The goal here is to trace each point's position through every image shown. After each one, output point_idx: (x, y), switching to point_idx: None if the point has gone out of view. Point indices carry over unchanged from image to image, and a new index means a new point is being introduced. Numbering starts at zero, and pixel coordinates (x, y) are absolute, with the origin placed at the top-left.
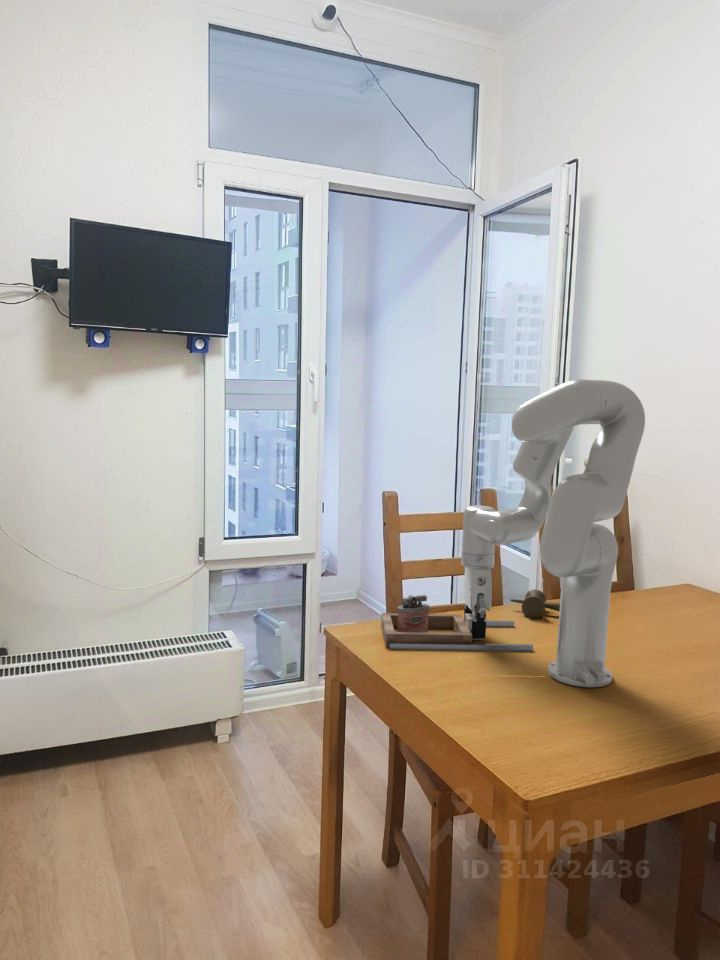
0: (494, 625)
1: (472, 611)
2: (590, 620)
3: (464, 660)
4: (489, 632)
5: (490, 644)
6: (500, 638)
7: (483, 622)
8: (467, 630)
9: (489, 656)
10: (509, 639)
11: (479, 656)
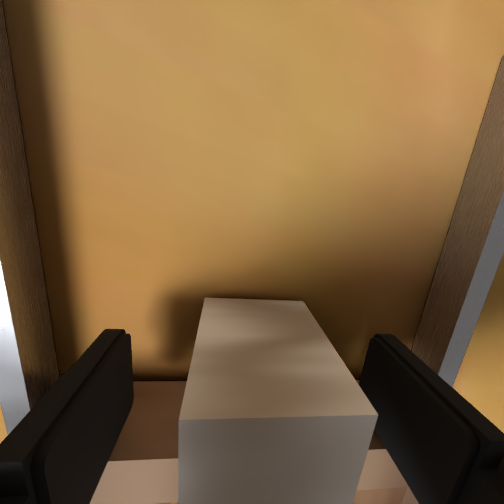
0: (10, 153)
1: (63, 481)
2: None
3: (491, 415)
4: (142, 224)
5: (467, 320)
6: (259, 187)
7: (489, 452)
8: (374, 459)
9: (488, 320)
10: (281, 129)
11: (474, 358)
